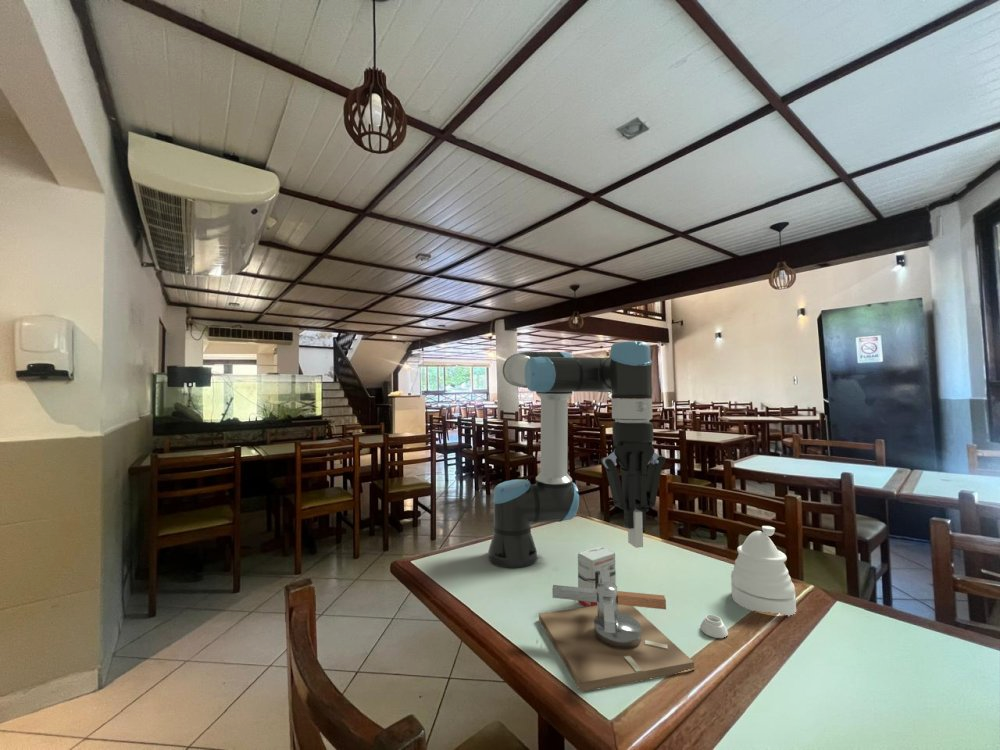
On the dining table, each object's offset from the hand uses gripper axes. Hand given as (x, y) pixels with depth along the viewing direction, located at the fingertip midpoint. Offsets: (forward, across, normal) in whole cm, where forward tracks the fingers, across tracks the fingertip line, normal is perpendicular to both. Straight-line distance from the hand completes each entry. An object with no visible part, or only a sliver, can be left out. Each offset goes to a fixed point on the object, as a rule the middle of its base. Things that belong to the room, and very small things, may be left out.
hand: (635, 544), depth 74 cm
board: (+21, -3, +6) cm, 22 cm away
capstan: (+19, -3, +6) cm, 20 cm away
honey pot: (+22, +41, +12) cm, 48 cm away
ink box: (+22, +2, +21) cm, 30 cm away
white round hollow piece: (+22, +20, +4) cm, 30 cm away
